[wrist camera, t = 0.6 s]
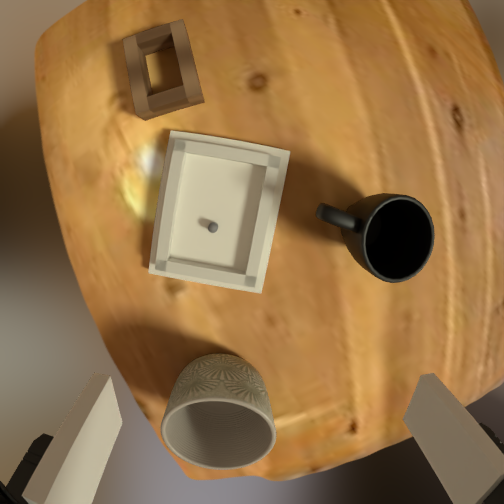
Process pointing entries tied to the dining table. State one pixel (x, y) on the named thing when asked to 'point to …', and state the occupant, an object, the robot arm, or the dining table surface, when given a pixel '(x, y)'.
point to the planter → (219, 414)
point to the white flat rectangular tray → (217, 210)
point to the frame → (139, 76)
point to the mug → (385, 234)
